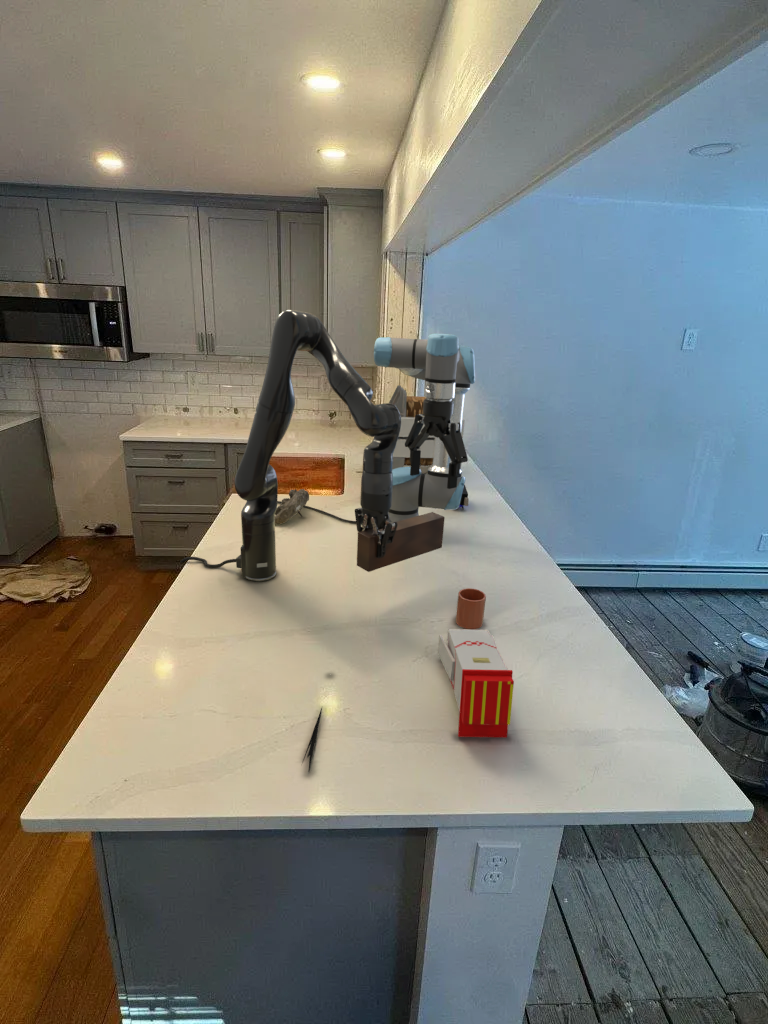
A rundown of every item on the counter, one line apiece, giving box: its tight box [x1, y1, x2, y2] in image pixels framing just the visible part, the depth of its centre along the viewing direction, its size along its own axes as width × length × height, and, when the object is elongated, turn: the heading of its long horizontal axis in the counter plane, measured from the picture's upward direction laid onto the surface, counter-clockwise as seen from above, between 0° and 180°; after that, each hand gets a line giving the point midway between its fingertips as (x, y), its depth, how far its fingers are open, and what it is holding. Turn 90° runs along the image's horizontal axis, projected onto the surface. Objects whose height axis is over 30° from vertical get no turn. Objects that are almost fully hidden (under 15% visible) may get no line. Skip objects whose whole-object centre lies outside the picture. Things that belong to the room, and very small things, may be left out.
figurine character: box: [455, 484, 470, 511], centre depth 230 cm, size 7×8×15 cm
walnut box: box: [356, 511, 445, 573], centre depth 147 cm, size 26×5×9 cm, turn 131°
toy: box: [437, 628, 515, 738], centre depth 117 cm, size 12×13×30 cm
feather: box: [301, 673, 332, 771], centre depth 108 cm, size 2×28×2 cm
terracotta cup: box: [455, 587, 487, 630], centre depth 144 cm, size 7×7×8 cm
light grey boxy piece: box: [388, 384, 465, 471], centre depth 268 cm, size 34×33×41 cm
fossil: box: [275, 488, 310, 526], centre depth 210 cm, size 22×10×15 cm
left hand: (373, 553), depth 141 cm, fingers closed on walnut box, 4 cm apart
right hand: (432, 481), depth 148 cm, fingers open, 13 cm apart
